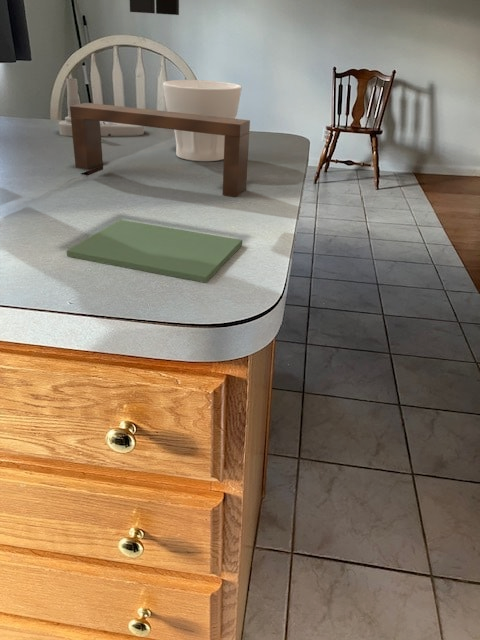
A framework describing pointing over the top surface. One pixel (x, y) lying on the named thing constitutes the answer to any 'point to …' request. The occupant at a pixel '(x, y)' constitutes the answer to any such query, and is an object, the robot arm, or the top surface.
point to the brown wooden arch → (234, 130)
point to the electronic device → (105, 127)
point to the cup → (201, 101)
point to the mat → (158, 250)
